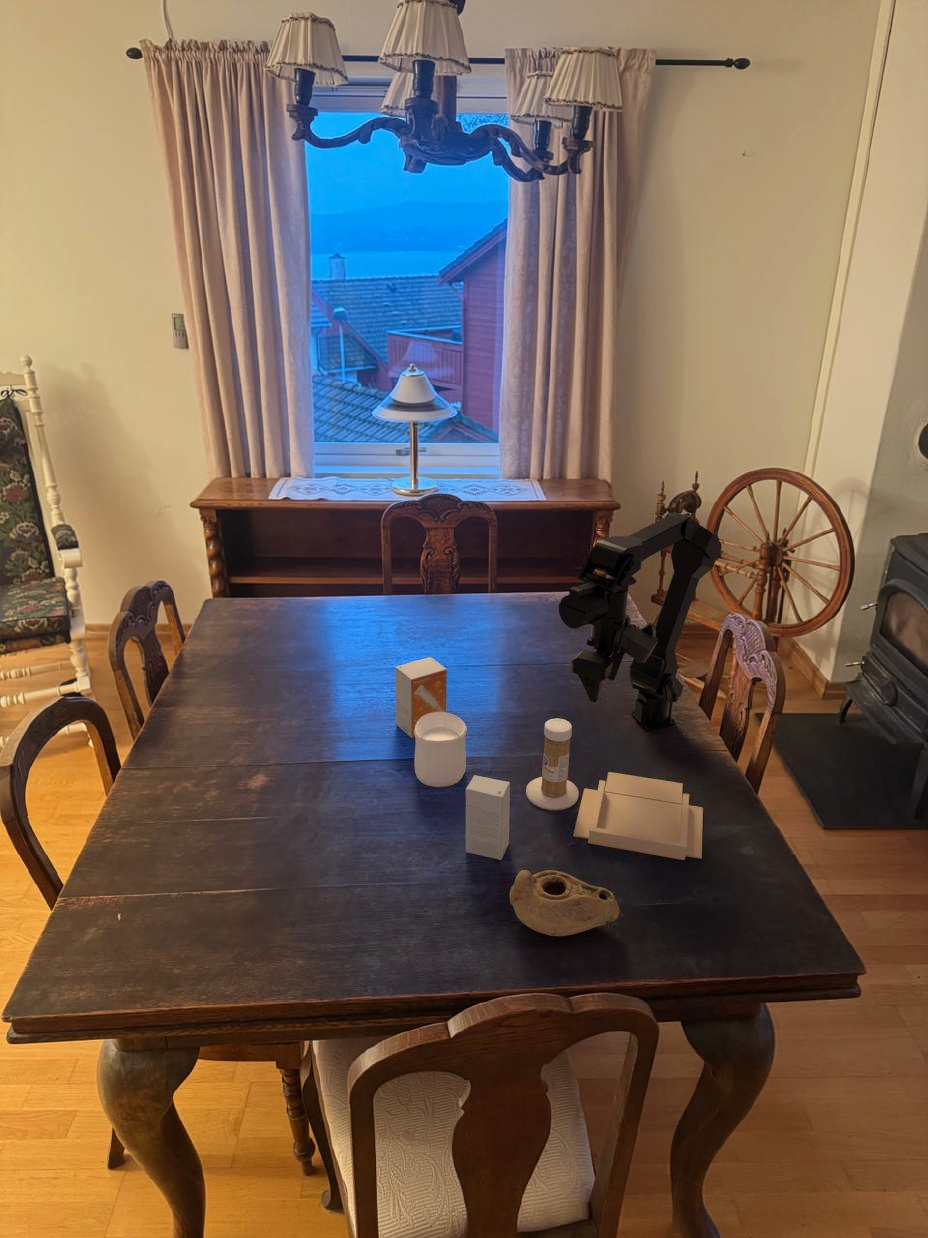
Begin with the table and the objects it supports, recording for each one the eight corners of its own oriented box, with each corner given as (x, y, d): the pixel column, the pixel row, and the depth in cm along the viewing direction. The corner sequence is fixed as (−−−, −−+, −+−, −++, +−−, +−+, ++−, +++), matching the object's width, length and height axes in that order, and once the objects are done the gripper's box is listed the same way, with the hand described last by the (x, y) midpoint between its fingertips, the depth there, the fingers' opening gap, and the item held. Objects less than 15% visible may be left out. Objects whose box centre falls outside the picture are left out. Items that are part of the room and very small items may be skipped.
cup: (427, 795, 146) (426, 747, 142) (403, 765, 154) (402, 719, 150) (476, 780, 150) (476, 733, 146) (450, 752, 158) (450, 706, 154)
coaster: (563, 774, 151) (563, 771, 151) (587, 803, 144) (588, 800, 144) (517, 785, 148) (517, 782, 148) (540, 815, 141) (540, 812, 141)
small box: (411, 739, 162) (410, 679, 156) (395, 724, 166) (393, 666, 161) (447, 727, 166) (447, 668, 160) (430, 713, 171) (430, 655, 165)
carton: (588, 770, 153) (589, 758, 152) (703, 788, 148) (704, 776, 147) (572, 840, 135) (573, 827, 134) (701, 863, 130) (703, 850, 129)
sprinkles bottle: (535, 789, 146) (538, 722, 141) (555, 780, 149) (559, 714, 143) (552, 802, 143) (557, 734, 137) (572, 793, 146) (578, 726, 140)
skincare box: (509, 844, 134) (511, 781, 129) (501, 861, 131) (503, 797, 126) (473, 836, 136) (473, 773, 131) (464, 852, 132) (464, 789, 127)
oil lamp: (623, 950, 115) (628, 904, 111) (513, 952, 114) (514, 907, 111) (607, 892, 125) (612, 849, 121) (506, 894, 124) (507, 851, 121)
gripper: (637, 642, 136) (628, 725, 142) (670, 602, 151) (661, 679, 157) (572, 627, 140) (567, 709, 147) (610, 590, 155) (604, 665, 162)
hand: (602, 690), depth 153 cm, fingers open, 9 cm apart
